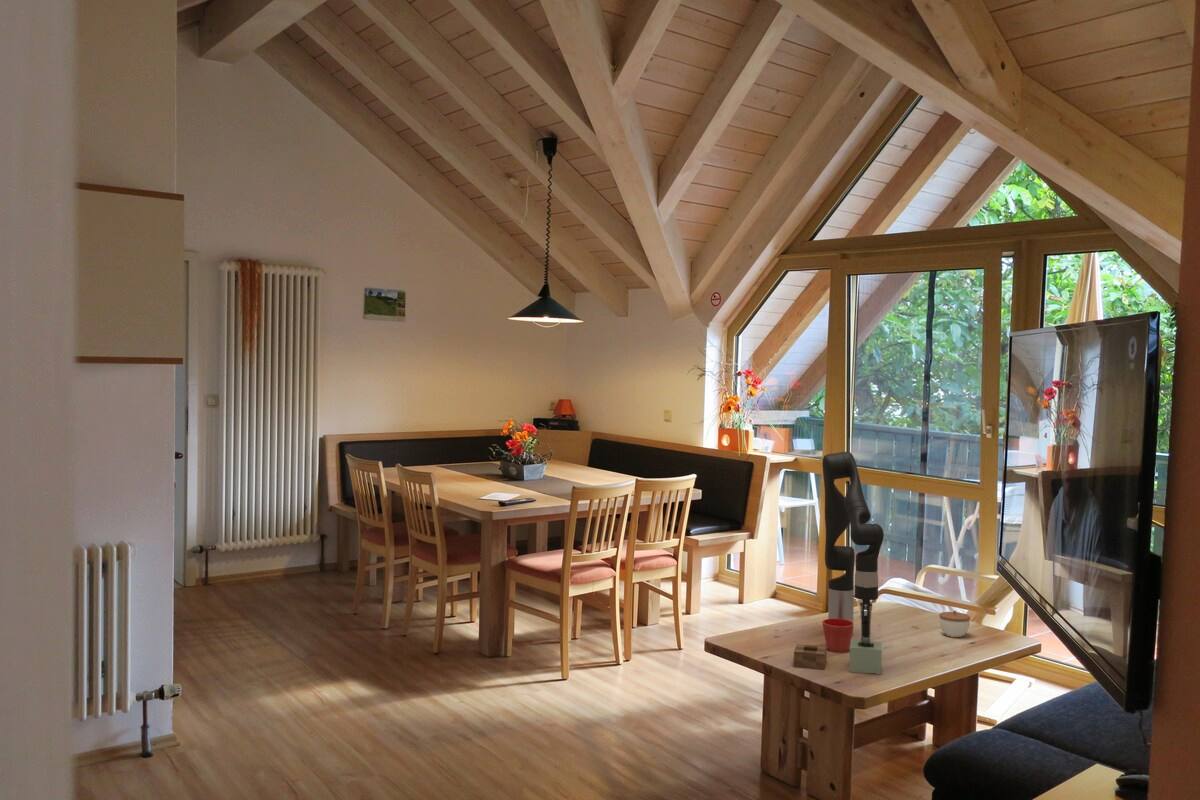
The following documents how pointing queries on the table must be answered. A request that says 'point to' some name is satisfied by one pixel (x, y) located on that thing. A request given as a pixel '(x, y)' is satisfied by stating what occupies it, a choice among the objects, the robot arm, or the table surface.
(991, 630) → the table surface
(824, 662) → the mount
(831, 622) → the flower pot
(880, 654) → the block
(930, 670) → the table surface
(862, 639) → the pin
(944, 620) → the lidded jar
